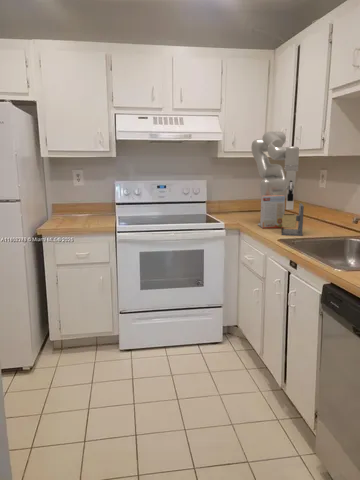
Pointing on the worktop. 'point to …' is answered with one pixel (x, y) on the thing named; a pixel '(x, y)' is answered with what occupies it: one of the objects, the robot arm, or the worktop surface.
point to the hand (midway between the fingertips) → (290, 200)
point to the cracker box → (272, 211)
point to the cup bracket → (293, 222)
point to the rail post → (290, 202)
